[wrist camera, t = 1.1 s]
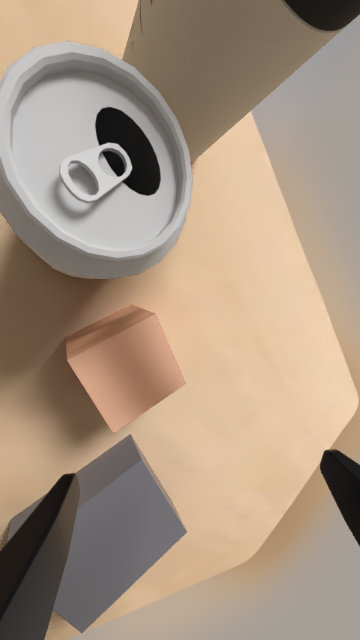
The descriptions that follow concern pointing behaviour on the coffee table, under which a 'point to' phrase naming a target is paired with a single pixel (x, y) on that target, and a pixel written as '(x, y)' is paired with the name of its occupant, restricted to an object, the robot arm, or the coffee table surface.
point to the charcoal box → (112, 532)
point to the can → (90, 162)
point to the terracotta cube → (124, 364)
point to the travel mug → (226, 54)
